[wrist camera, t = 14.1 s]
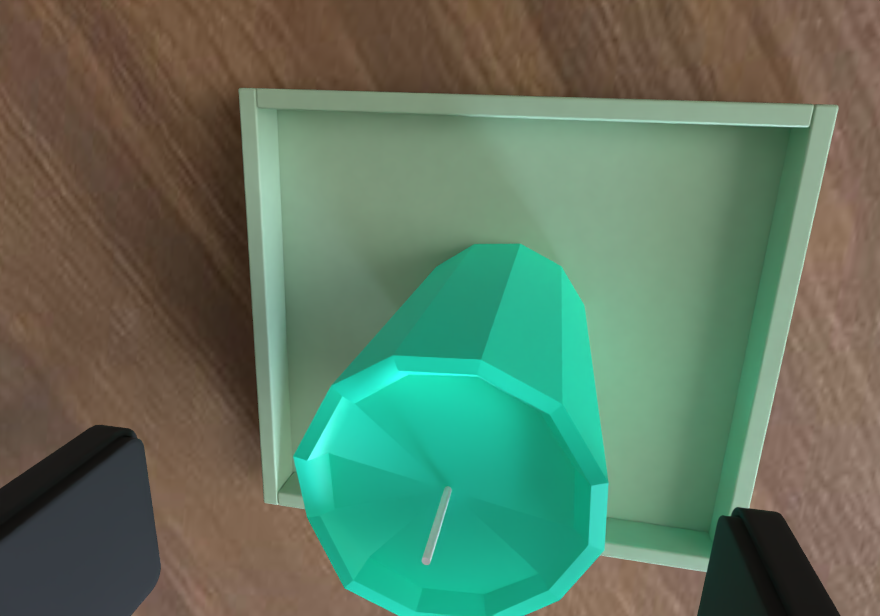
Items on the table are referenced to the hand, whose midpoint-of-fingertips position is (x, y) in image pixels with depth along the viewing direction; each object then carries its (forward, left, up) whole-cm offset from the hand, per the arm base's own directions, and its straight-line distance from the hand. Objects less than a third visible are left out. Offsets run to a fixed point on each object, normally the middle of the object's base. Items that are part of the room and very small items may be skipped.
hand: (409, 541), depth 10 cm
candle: (0, 0, -12) cm, 12 cm away
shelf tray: (0, 0, -13) cm, 13 cm away
